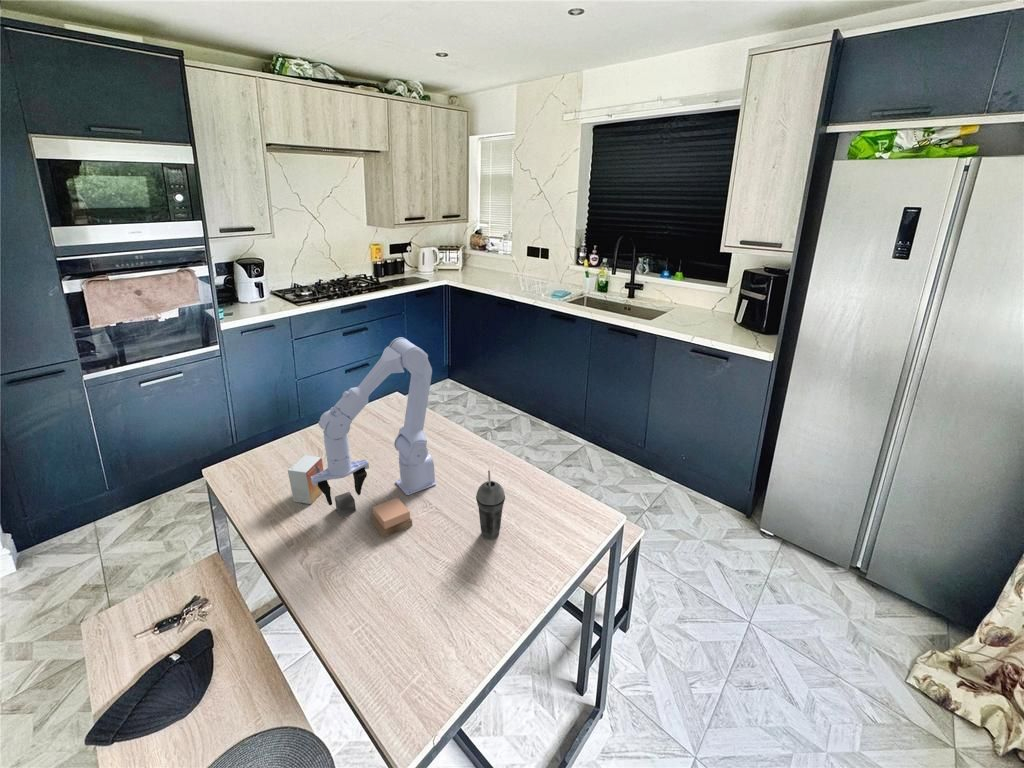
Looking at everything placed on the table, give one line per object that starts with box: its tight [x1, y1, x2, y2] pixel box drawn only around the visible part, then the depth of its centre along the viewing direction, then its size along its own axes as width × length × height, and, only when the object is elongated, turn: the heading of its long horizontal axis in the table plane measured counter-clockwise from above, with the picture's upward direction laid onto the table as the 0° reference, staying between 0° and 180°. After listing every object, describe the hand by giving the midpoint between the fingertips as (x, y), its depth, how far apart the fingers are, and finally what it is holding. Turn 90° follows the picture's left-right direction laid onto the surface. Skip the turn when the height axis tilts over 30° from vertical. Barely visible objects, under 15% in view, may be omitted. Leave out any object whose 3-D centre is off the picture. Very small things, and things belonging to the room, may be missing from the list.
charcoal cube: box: [334, 491, 357, 517], centre depth 134 cm, size 4×4×4 cm
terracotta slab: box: [372, 497, 411, 529], centre depth 129 cm, size 7×7×2 cm
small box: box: [287, 454, 324, 505], centre depth 138 cm, size 8×6×10 cm
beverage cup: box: [475, 470, 506, 541], centre depth 123 cm, size 7×7×20 cm
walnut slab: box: [369, 513, 413, 539], centre depth 130 cm, size 8×8×2 cm
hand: (344, 498), depth 133 cm, fingers open, 7 cm apart
